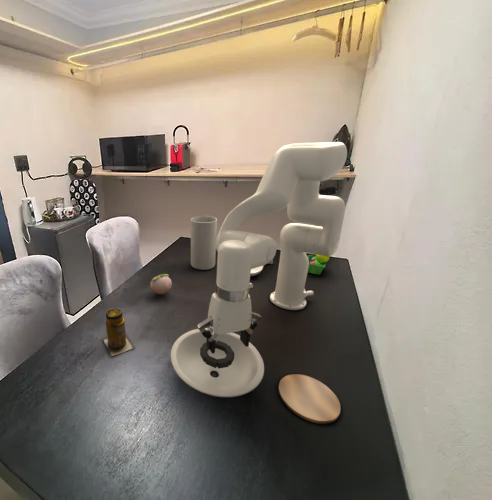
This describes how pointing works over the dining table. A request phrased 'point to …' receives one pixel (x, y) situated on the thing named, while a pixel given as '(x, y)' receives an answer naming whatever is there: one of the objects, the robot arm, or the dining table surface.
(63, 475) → the dining table surface
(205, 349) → the ring
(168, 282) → the decorative fruit
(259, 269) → the spoon rest
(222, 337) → the white sink bowl
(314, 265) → the fruit basket
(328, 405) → the coaster
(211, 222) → the cylinder vase
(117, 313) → the condiment
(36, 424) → the dining table surface
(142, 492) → the dining table surface
